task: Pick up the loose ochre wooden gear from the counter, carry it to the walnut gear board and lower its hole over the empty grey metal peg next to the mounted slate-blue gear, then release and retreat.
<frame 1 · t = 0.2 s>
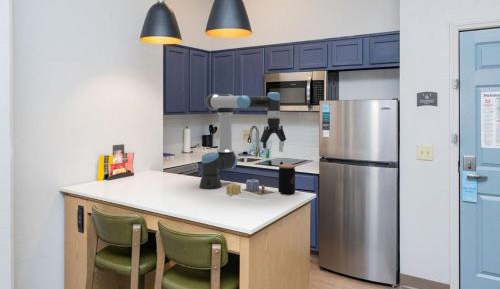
hand: (273, 152, 224), 27 cm above the countertop, fingers open, 13 cm apart
gear board: (257, 192, 238), on the countertop
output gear: (252, 185, 241), point 4 cm above the countertop, hinge at 15.0°
coffee jar: (286, 193, 236), on the countertop
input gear: (233, 194, 232), on the countertop
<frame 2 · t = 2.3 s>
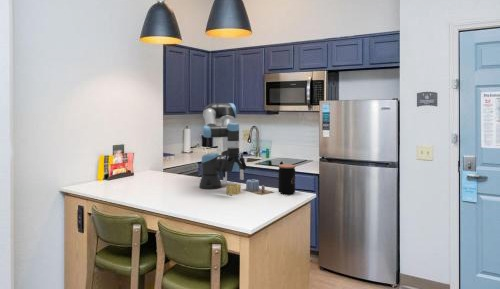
hand: (233, 180, 231), 9 cm above the countertop, fingers open, 13 cm apart
nothing on the countertop moved.
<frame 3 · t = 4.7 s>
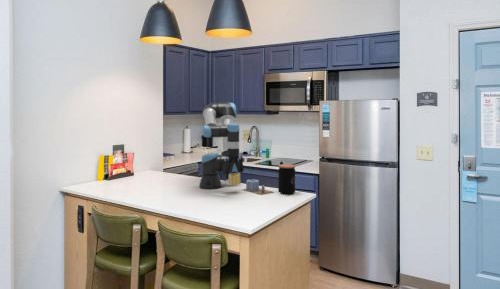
hand: (233, 183, 232), 7 cm above the countertop, fingers closed on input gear, 8 cm apart
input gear: (233, 183, 232), point 7 cm above the countertop, touching gripper
everything else where it was.
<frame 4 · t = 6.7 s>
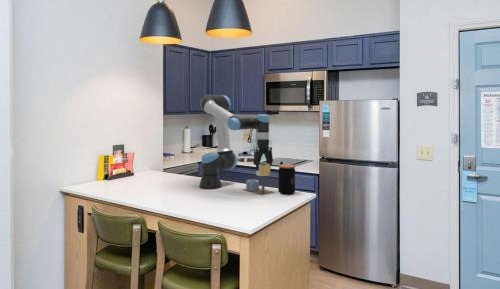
hand: (263, 174, 232), 13 cm above the countertop, fingers closed on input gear, 8 cm apart
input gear: (263, 174, 232), point 12 cm above the countertop, touching gripper
everything else where it was.
when the fingers open (2 cm above the countertop, at t = 8.7 s): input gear stays where it is, resting on gear board.
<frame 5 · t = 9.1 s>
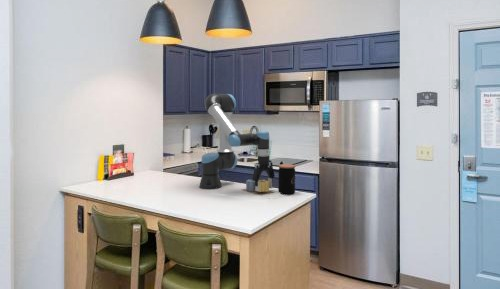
hand: (263, 189, 234), 3 cm above the countertop, fingers open, 10 cm apart
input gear: (262, 190, 233), point 2 cm above the countertop, touching gear board, gripper
everything else where it was.
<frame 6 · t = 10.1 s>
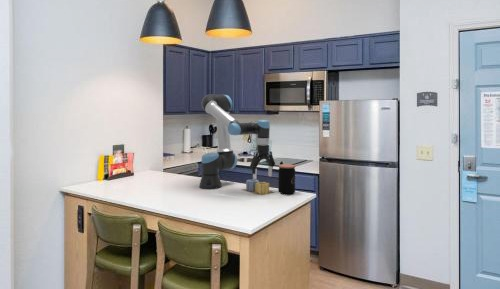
hand: (262, 177, 233), 11 cm above the countertop, fingers open, 13 cm apart
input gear: (262, 192, 233), point 1 cm above the countertop, touching gear board
everything else where it was.
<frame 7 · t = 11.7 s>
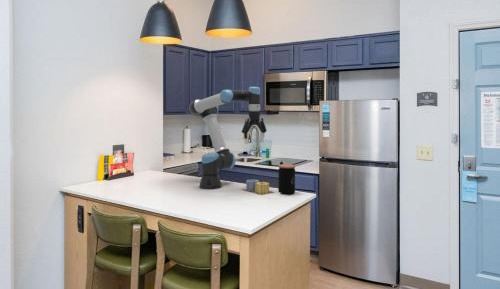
hand: (254, 143, 241), 32 cm above the countertop, fingers open, 13 cm apart
nothing on the countertop moved.
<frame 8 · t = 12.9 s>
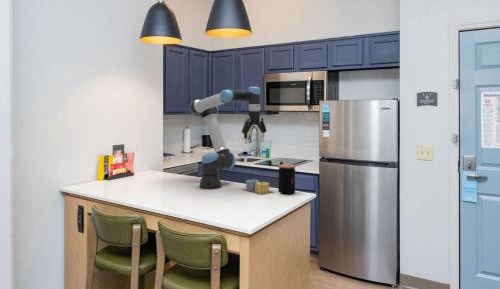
hand: (254, 143, 241), 32 cm above the countertop, fingers open, 13 cm apart
nothing on the countertop moved.
at the end: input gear 0.6 cm from the target spot, point 1.0 cm above the countertop; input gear tilted 0°; the gripper is holding nothing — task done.
